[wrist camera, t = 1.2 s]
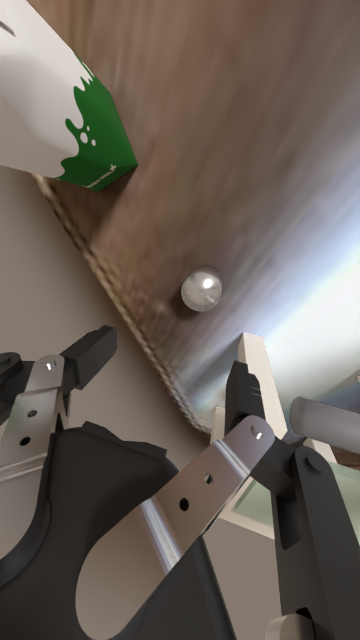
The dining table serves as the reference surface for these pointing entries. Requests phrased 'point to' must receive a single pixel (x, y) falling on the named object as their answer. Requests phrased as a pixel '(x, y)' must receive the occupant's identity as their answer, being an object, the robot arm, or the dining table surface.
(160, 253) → the dining table surface
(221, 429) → the trapdoor stand
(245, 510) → the trapdoor
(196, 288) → the cylinder
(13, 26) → the milk carton
